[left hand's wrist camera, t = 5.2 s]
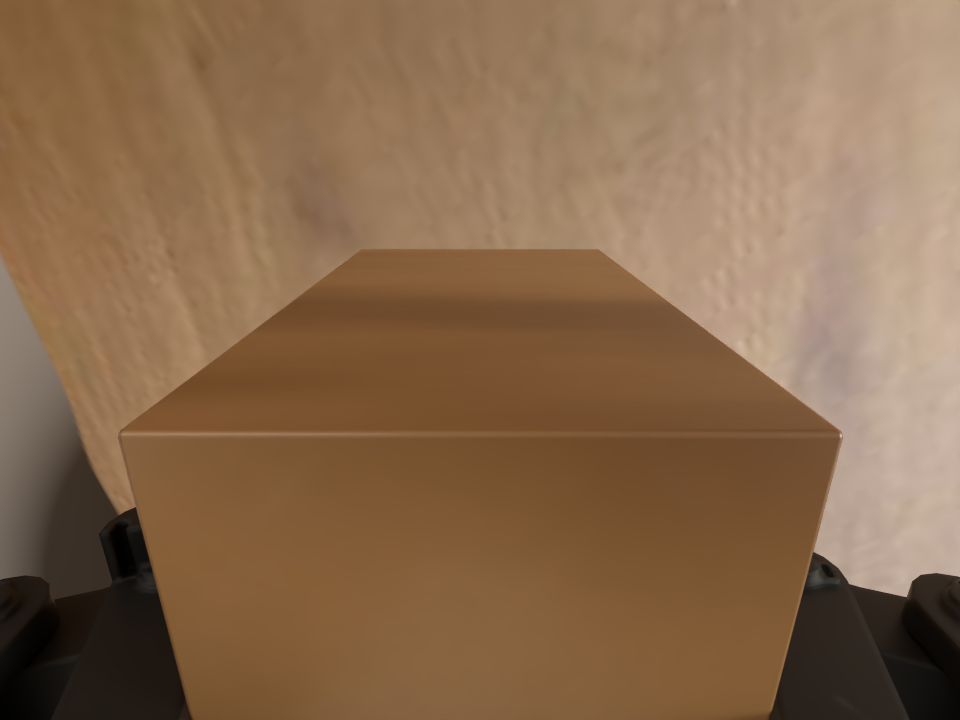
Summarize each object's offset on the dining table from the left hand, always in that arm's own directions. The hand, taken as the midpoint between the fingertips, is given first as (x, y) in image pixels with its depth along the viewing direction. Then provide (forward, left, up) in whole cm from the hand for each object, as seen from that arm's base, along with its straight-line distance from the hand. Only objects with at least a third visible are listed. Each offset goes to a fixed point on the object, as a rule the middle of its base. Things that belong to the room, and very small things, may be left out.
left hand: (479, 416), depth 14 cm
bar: (+7, 0, 0) cm, 7 cm away
